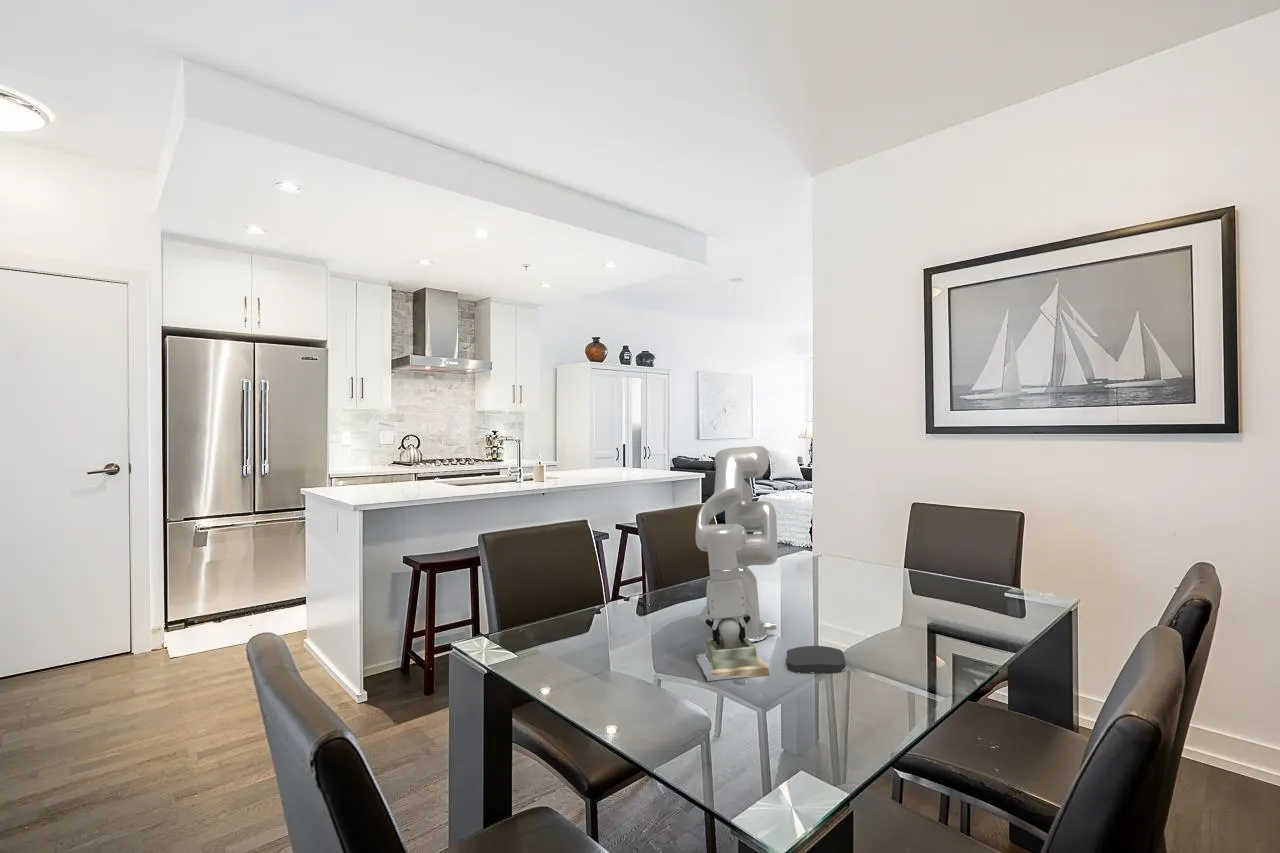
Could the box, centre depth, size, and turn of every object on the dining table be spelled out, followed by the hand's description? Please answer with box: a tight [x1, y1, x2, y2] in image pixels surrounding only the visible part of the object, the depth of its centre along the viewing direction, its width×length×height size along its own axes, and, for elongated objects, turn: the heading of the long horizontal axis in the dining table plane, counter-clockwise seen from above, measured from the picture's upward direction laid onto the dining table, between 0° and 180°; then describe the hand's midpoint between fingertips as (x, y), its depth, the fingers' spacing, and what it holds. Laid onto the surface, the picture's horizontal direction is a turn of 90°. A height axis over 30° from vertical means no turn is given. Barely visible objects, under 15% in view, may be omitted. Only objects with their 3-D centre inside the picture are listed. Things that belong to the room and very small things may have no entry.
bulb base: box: [696, 636, 770, 678], centre depth 166 cm, size 16×16×6 cm
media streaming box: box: [786, 645, 847, 674], centre depth 164 cm, size 15×15×3 cm
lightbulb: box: [717, 618, 740, 649], centre depth 166 cm, size 6×6×11 cm
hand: (729, 641), depth 166 cm, fingers closed on lightbulb, 5 cm apart
